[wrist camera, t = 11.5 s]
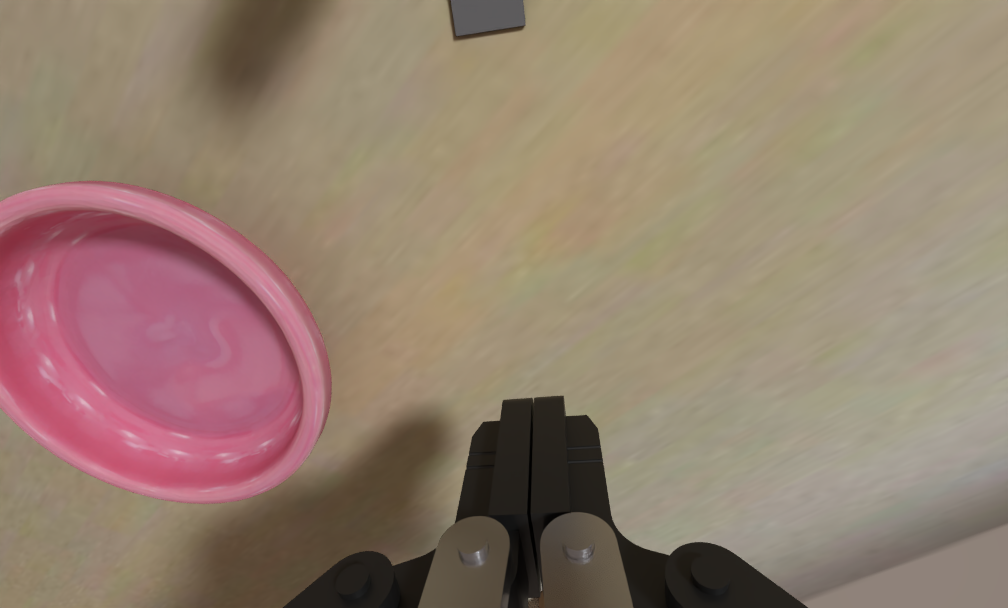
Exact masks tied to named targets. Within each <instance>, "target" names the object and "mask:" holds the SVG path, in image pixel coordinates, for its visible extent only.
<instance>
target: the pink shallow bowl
mask: <svg viewBox="0 0 1008 608" xmlns="http://www.w3.org/2000/svg"><path fill="white" fill-rule="evenodd" d="M331 385H332V382H331V371H330V365H329V360H328V355H327V352H326V348H325V345H324V341H323V338H322V335H321V333H320V330H319V328H318V326H317V324H316V322H315V320H314V318H313V316H312V314H311V312H310V310H309V308H308V306H307V305H306V303H305V301H304V300H303V298H302V296H301V295H300V293H299V292H298V291H297V289H296V288H295V287H294V285H293V284H292V283H291V281H290V280H289V279H288V277H287V276H286V275H285V274H284V273H283V271H282V270H281V269H280V268H279V267H278V266H277V265H276V264H275V263H274V262H273V261H272V260H271V259H270V258H269V257H268V256H267V255H266V254H265V253H263V252H262V251H261V250H260V249H259V248H258V247H256V246H255V245H254V244H253V243H251V242H250V241H249V240H248V239H246V238H245V237H244V236H242V235H241V234H240V233H238V232H237V231H235V230H234V229H232V228H231V227H229V226H228V225H227V224H225V223H224V222H222V221H221V220H219V219H218V218H216V217H214V216H212V215H210V214H209V213H207V212H205V211H203V210H201V209H199V208H197V207H195V206H193V205H191V204H189V203H187V202H185V201H182V200H179V199H177V198H174V197H172V196H169V195H166V194H163V193H160V192H157V191H154V190H150V189H146V188H142V187H138V186H134V185H129V184H123V183H115V182H103V181H78V182H66V183H60V184H54V185H49V186H43V187H39V188H35V189H31V190H28V191H24V192H21V193H18V194H16V195H13V196H11V197H8V198H6V199H4V200H2V201H1V202H0V408H1V409H2V410H3V411H4V412H5V413H6V414H7V415H8V416H9V417H10V418H11V419H12V420H13V421H14V422H15V423H16V424H17V425H18V426H19V427H20V428H21V429H22V430H23V431H25V432H26V433H27V434H28V435H29V436H30V437H31V438H33V439H34V440H35V441H36V442H38V443H39V444H40V445H42V446H43V447H44V448H46V449H47V450H49V451H50V452H51V453H53V454H54V455H56V456H57V457H59V458H60V459H62V460H63V461H65V462H67V463H68V464H70V465H72V466H73V467H75V468H77V469H79V470H81V471H83V472H85V473H87V474H89V475H91V476H93V477H95V478H97V479H99V480H102V481H104V482H106V483H109V484H111V485H113V486H116V487H119V488H122V489H125V490H127V491H130V492H133V493H137V494H141V495H145V496H149V497H153V498H157V499H162V500H168V501H174V502H182V503H199V504H210V503H224V502H232V501H239V500H243V499H246V498H250V497H253V496H256V495H259V494H261V493H264V492H266V491H268V490H270V489H272V488H274V487H276V486H278V485H279V484H281V483H282V482H284V481H285V480H286V479H288V478H289V477H290V476H291V475H292V474H293V473H295V472H296V470H297V469H298V468H299V467H300V466H301V465H302V464H303V463H304V461H305V460H306V459H307V457H308V456H309V454H310V453H311V451H312V450H313V448H314V446H315V444H316V442H317V441H318V439H319V437H320V435H321V433H322V431H323V429H324V426H325V423H326V420H327V417H328V413H329V409H330V402H331Z"/></svg>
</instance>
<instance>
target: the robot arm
mask: <svg viewBox="0 0 1008 608" xmlns="http://www.w3.org/2000/svg"><path fill="white" fill-rule="evenodd" d="M466 467H467V470H466V471H465V476H464V481H463V486H462V491H461V496H460V501H459V506H458V511H457V516H456V521H455V524H453V525H452V526H451V527H449V528H448V529H447V530H446V531H445V533H444V534H443V535H442V537H441V538H440V540H439V542H438V545H437V548H436V549H434V550H433V551H431V552H429V553H428V554H426V555H423V556H421V557H418V558H415V559H412V560H410V561H407V562H404V563H401V564H398V565H395V566H392V564H391V562H390V561H389V559H388V558H387V557H385V556H384V555H383V554H380V553H378V552H373V551H365V552H359V553H355V554H353V555H350V556H348V557H346V558H344V559H342V560H341V561H339V562H338V563H337V564H335V565H334V566H333V567H332V568H330V569H329V570H328V571H327V572H326V573H324V574H323V575H322V576H321V577H319V578H318V579H317V580H316V581H315V582H313V583H312V584H311V585H310V586H309V587H307V588H306V589H305V590H304V591H302V592H301V593H300V594H299V595H298V596H296V597H295V598H294V599H293V600H291V601H290V602H289V603H288V604H287V605H285V606H284V607H283V608H528V598H540V597H541V583H542V589H543V595H544V603H545V608H808V607H806V606H805V605H804V604H802V603H801V602H800V601H798V600H797V599H795V598H794V597H793V596H791V595H790V594H789V593H787V592H786V591H785V590H783V589H782V588H780V587H779V586H778V585H776V584H775V583H774V582H772V581H771V580H770V579H768V578H767V577H765V576H764V575H763V574H761V573H760V572H759V571H757V570H756V569H755V568H753V567H752V566H751V565H749V564H748V563H746V562H745V561H744V560H742V559H741V558H740V557H738V556H737V555H735V554H734V553H732V552H731V551H729V550H727V549H725V548H723V547H721V546H718V545H715V544H711V543H704V542H695V543H689V544H685V545H683V546H680V547H679V548H677V549H676V550H674V551H673V552H672V554H671V555H670V556H669V555H666V554H662V553H658V552H654V551H650V550H647V549H644V548H641V547H639V546H637V545H635V544H633V543H632V542H630V541H629V540H627V539H626V538H625V537H624V536H623V535H622V534H621V533H620V532H619V531H618V529H617V528H616V526H615V525H614V522H613V520H612V516H611V511H610V505H609V498H608V492H607V485H606V479H605V472H604V465H603V459H602V452H601V446H600V439H599V433H598V428H597V427H596V426H595V424H594V423H593V422H592V421H591V419H590V418H589V417H588V416H587V415H580V416H566V413H565V404H564V396H551V397H536V398H534V403H533V398H524V399H509V400H503V403H502V410H501V418H500V421H489V422H483V423H482V424H481V426H480V427H479V428H478V430H477V431H476V432H475V434H474V435H473V436H472V441H471V446H470V451H469V456H468V461H467V466H466Z"/></svg>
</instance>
